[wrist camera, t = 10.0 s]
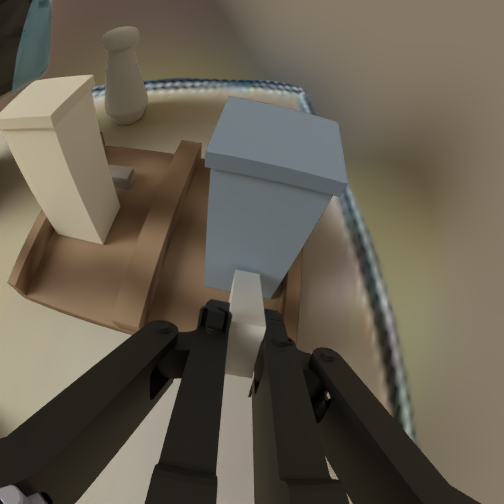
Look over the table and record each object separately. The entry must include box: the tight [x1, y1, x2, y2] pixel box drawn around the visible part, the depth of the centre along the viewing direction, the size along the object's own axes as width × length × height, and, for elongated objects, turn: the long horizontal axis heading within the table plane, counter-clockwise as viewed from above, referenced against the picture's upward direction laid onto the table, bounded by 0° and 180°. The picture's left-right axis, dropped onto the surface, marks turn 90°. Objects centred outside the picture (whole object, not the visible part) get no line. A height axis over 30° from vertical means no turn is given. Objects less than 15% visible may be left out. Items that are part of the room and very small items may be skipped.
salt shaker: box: [102, 27, 148, 125], centre depth 27 cm, size 6×6×13 cm
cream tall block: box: [0, 75, 120, 245], centre depth 16 cm, size 4×5×13 cm
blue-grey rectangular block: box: [204, 96, 347, 299], centre depth 17 cm, size 4×5×13 cm
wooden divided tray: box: [7, 132, 303, 344], centre depth 23 cm, size 18×23×4 cm
